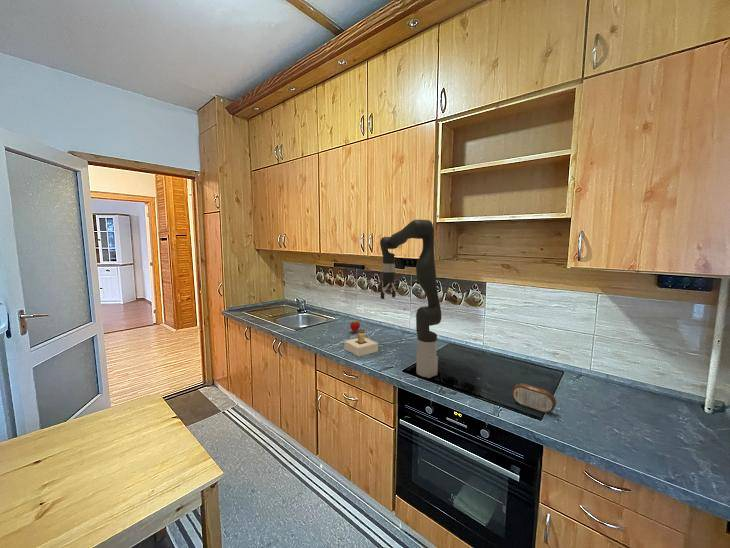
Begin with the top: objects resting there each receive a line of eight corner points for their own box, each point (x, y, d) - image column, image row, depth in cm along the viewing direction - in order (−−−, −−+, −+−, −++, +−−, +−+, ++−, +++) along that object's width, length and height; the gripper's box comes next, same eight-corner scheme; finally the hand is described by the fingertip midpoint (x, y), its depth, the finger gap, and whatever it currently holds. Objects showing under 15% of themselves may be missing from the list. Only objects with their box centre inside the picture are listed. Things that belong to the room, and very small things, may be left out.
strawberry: (362, 332, 209) (362, 318, 208) (353, 334, 204) (353, 320, 203) (356, 330, 214) (356, 316, 212) (348, 332, 209) (348, 318, 207)
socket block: (377, 351, 175) (377, 343, 174) (358, 356, 167) (358, 348, 166) (363, 344, 186) (363, 336, 186) (344, 349, 178) (344, 341, 177)
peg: (365, 350, 176) (366, 330, 175) (360, 352, 174) (360, 331, 172) (361, 348, 179) (361, 328, 178) (356, 349, 177) (356, 330, 175)
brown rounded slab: (555, 413, 114) (557, 392, 113) (553, 417, 112) (555, 396, 111) (512, 399, 124) (514, 380, 123) (510, 402, 122) (511, 382, 121)
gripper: (383, 272, 169) (383, 300, 171) (401, 270, 178) (401, 297, 180) (375, 271, 175) (374, 298, 177) (393, 269, 184) (392, 295, 186)
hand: (388, 298), depth 178 cm, fingers open, 8 cm apart
